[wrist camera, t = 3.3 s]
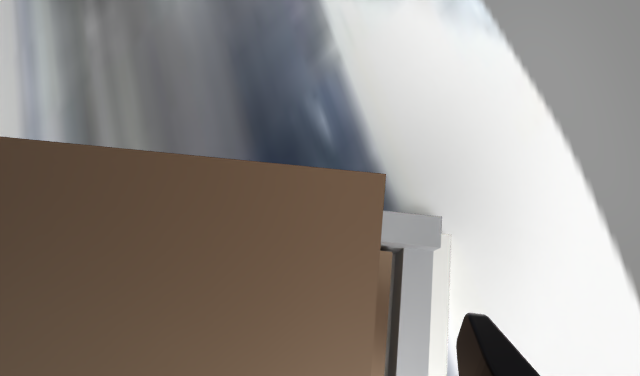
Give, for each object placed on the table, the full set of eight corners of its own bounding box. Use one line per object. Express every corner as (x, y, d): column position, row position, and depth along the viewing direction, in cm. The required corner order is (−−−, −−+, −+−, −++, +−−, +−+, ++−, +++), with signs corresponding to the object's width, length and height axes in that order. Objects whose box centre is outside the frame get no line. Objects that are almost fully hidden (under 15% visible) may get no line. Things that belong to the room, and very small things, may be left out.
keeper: (375, 400, 15) (599, 914, 2) (181, 375, 15) (-499, 708, 3) (385, 257, 16) (565, 108, 4) (205, 238, 17) (-186, 43, 4)
